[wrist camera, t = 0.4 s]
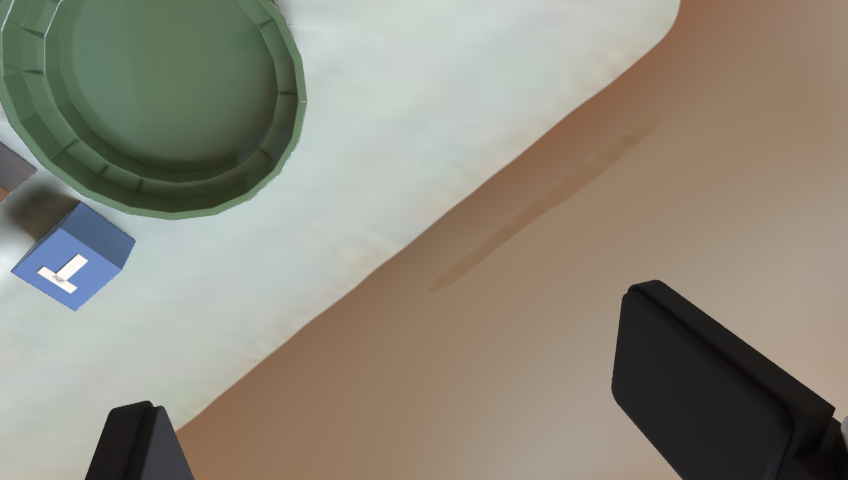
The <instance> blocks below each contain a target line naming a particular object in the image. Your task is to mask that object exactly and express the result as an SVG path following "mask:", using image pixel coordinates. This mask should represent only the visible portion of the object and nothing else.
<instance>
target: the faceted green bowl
mask: <svg viewBox="0 0 848 480" xmlns="http://www.w3.org/2000/svg"><path fill="white" fill-rule="evenodd" d="M0 101H1V103H2V106H3V108H4V111H5V113H6V116H7V118H8V121H9V124H11V127H12V128H13V129H14V130H15V132H16V133H17V134H18V135H19V137H20V138H21V139H22V140H23V142H24V143H25V144H26V146H27V147H28V148H29V149H30V151H31V152H32V153H33V154H34V156H35V157H36V158H37V159H38V161H39V162H40V163H41V164H42V165H43V166H44V167H45V168H46V169H48V170H49V171H51V172H52V173H53V174H55V175H56V176H57V177H59V178H60V179H61V180H63V181H64V182H65V183H67V184H68V185H69V186H71V187H72V188H73V189H75V190H76V191H77V192H79V193H80V194H82V195H83V196H85V197H88V198H90V199H93V200H95V201H98V202H100V203H102V204H105V205H107V206H110V207H112V208H115V209H117V210H119V211H122V212H124V213H128V214H131V215H138V216H146V217H153V218H160V219H167V220H179V219H187V218H195V217H203V216H211V215H216V214H218V213H221V212H223V211H225V210H228V209H230V208H232V207H235V206H237V205H239V204H242V203H244V202H246V201H249V200H251V199H252V198H253V197H255V196H256V195H257V194H258V193H259V192H260V191H262V190H263V189H264V188H265V187H266V186H267V185H268V184H270V183H271V182H272V181H273V180H274V179H275V178H277V177H278V176H279V175H280V174H281V172H282V170H283V169H284V167H285V165H286V164H287V162H288V160H289V158H290V157H291V155H292V153H293V151H294V150H295V148H296V146H297V145H298V143H299V140H300V136H301V131H302V126H303V121H304V116H305V111H306V106H307V95H306V87H305V79H304V71H303V63H302V58H301V55H300V53H299V51H298V49H297V46H296V44H295V42H294V40H293V37H292V35H291V33H290V31H289V28H288V26H287V24H286V22H285V19H284V17H283V15H282V14H281V12H280V11H279V9H278V8H277V7H276V6H275V5H274V3H273V2H272V1H271V0H0Z"/></svg>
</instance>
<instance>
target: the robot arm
mask: <svg viewBox="0 0 848 480" xmlns="http://www.w3.org/2000/svg"><path fill="white" fill-rule="evenodd" d="M611 389H612V393H613V396H614V399H615V401H616V402H617V404H618V405H619V406H620V407H621V408H622V410H623V411H624V412H625V413H626V414H627V415H628V416H629V418H630V419H631V420H632V421H633V422H634V424H635V425H636V426H637V427H638V428H639V429H640V430H641V432H642V433H643V434H644V435H645V436H646V437H647V439H648V440H649V441H650V442H651V443H652V444H653V446H654V447H655V448H656V449H657V450H658V451H659V453H660V454H661V455H662V456H663V457H664V458H665V460H666V461H667V462H668V463H669V464H670V465H671V467H672V468H673V469H674V470H675V471H676V472H677V474H678V475H679V476H680V477H681V478H682V479H683V480H848V416H847V417H846V418H845V419H844V421H843V422H842V424H841V423H840V422H839V421H837V420H836V419H835V418H833V417H832V416H833V414H834V411H835V407H834V406H832V405H831V404H829V403H828V402H827V401H825V400H824V399H823V398H821V397H820V396H819V395H817V394H816V393H814V392H813V391H812V390H810V389H809V388H808V387H806V386H805V385H803V384H802V383H800V382H799V381H798V380H796V379H795V378H794V377H792V376H791V375H790V374H788V373H787V372H786V371H784V370H783V369H781V368H780V367H779V366H777V365H776V364H775V363H773V362H772V361H770V360H769V359H768V358H766V357H765V356H764V355H762V354H761V353H759V352H758V351H757V350H755V349H754V348H752V347H751V346H750V345H748V344H747V343H746V342H744V341H743V340H741V339H740V338H739V337H737V336H736V335H735V334H733V333H732V332H731V331H729V330H728V329H726V328H725V327H724V326H722V325H721V324H720V323H718V322H717V321H715V320H714V319H713V318H711V317H710V316H708V315H707V314H706V313H704V312H703V311H702V310H700V309H699V308H698V307H696V306H695V305H693V304H692V303H691V302H689V301H688V300H687V299H685V298H684V297H682V296H681V295H680V294H678V293H677V292H676V291H674V290H673V289H671V288H670V287H669V286H667V285H666V284H665V283H663V282H661V281H660V280H651V281H647V282H643V283H639V284H635V285H632V286H630V287H629V289H628V292H627V293H626V294H624V296H623V298H622V305H621V312H620V320H619V329H618V337H617V345H616V353H615V361H614V369H613V378H612V386H611ZM85 480H194V477H193V475H192V473H191V470H190V468H189V465H188V463H187V460H186V458H185V456H184V453H183V451H182V448H181V446H180V444H179V441H178V439H177V436H176V434H175V432H174V429H173V427H172V424H171V422H170V420H169V417H168V415H167V412H166V410H165V408H164V407H163V406H157V407H154V406H153V405H152V403H151V402H150V401H142V402H138V403H134V404H130V405H126V406H121V407H117V408H113V409H112V410H111V411H110V413H109V415H108V417H107V420H106V423H105V426H104V428H103V431H102V434H101V437H100V439H99V442H98V445H97V448H96V450H95V453H94V456H93V459H92V461H91V464H90V467H89V470H88V472H87V475H86V478H85Z"/></svg>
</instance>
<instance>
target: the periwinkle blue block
mask: <svg viewBox="0 0 848 480" xmlns="http://www.w3.org/2000/svg"><path fill="white" fill-rule="evenodd" d="M135 242H136V241H134V240H133V239H132V238H130V237H129V236H128V235H126V234H125V233H123V232H122V231H121V230H119V229H118V228H117V227H115V226H114V225H113V224H111V223H110V222H108V221H107V220H106V219H104V218H103V217H102V216H100V215H99V214H98V213H96V212H95V211H93V210H92V209H91V208H89V207H88V206H87V205H85V204H84V203H83V202H80V203H79V204H78V205H77V206H75V207H74V208H73V209H72V210H71V211H70V212H69V213H68V214H67V215H65V216H64V217H63V218H62V219H61V220H60V221H59V222H58V223H57V224H55V225H54V226H53V227H52V228H51V229H50V230H49V231H48V232H47V233H45V234H44V235H43V236H42V237H41V238H40V239H39V240H38V241H37V242H36V243H35V244H34V245H33V246H32V247H31V249H30V250H29V251H28V252H27V253H26V254H25V255H24V257H23V258H22V259H21V260H20V261H19V262H18V263H17V265H16V266H15V267H14V268H13V269H12V270H11V272H12V273H13V274H15V275H16V276H18V277H20V278H21V279H23V280H25V281H26V282H28V283H30V284H31V285H33V286H34V287H36V288H38V289H39V290H41V291H43V292H44V293H46V294H48V295H49V296H51V297H52V298H54V299H56V300H57V301H59V302H61V303H62V304H64V305H66V306H67V307H69V308H70V309H72V310H74V311H76V310H77V309H78V308H79V307H81V306H82V305H83V304H84V303H85V302H86V301H87V300H89V299H90V298H91V297H92V296H93V295H94V294H95V293H97V292H98V291H99V290H100V289H101V288H102V287H103V286H105V285H106V284H107V283H108V282H109V281H110V280H111V279H112V278H114V277H115V276H116V275H117V274H118V273H119V272H120V271H122V269H123V267H124V265H125V263H126V261H127V259H128V256H129V254H130V252H131V250H132V248H133V246H134V244H135Z"/></svg>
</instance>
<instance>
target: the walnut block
mask: <svg viewBox="0 0 848 480" xmlns="http://www.w3.org/2000/svg"><path fill="white" fill-rule="evenodd" d="M36 172H37V169H36V168H35V167H33V166H32V165H31V164H29V163H28V162H26V161H25V160H24V159H22V158H21V157H20V156H18V155H17V154H16V153H14V152H13V151H11V150H10V149H9V148H7V147H6V146H5V145H3V144H2V143H1V142H0V205H1V204H2V203H3V202H4V201H5V200H6V199H7V198H8V197H9V196H10V195H12V194H13V193H14V192H15V191H16V190H17V189H18V188H19V187H20V186H21V185H22V184H24V183H25V182H26V181H27V180H28V179H29V178H30V177H31V176H32V175H33V174H34V173H36Z"/></svg>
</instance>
